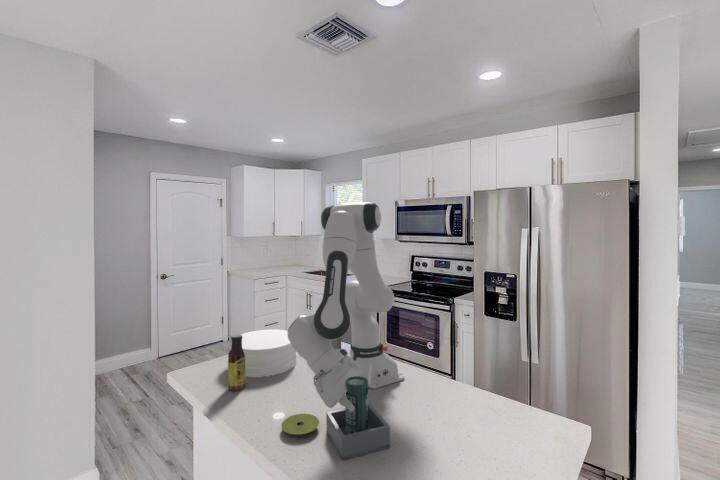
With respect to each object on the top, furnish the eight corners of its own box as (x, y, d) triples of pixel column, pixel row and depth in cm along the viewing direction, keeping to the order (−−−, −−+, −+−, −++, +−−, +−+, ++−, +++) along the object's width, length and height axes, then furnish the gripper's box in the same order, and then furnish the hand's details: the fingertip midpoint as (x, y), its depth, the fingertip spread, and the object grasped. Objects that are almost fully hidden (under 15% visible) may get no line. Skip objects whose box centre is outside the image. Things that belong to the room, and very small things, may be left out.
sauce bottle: (240, 392, 132) (239, 339, 131) (224, 390, 133) (223, 338, 132) (249, 384, 138) (248, 333, 137) (234, 383, 139) (233, 333, 138)
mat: (326, 430, 107) (326, 424, 107) (292, 445, 100) (292, 438, 100) (307, 415, 115) (307, 409, 115) (274, 428, 108) (274, 421, 108)
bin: (369, 421, 112) (369, 403, 111) (389, 447, 99) (389, 426, 98) (326, 431, 106) (326, 412, 106) (342, 460, 93) (341, 438, 93)
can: (371, 432, 102) (371, 381, 102) (356, 441, 98) (356, 387, 97) (357, 423, 107) (357, 374, 106) (341, 431, 102) (341, 380, 102)
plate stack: (309, 364, 158) (308, 338, 158) (250, 383, 139) (249, 355, 138) (276, 348, 179) (276, 325, 178) (221, 363, 159) (220, 338, 159)
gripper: (318, 372, 94) (352, 415, 91) (347, 347, 113) (376, 381, 110) (303, 386, 96) (337, 428, 93) (334, 359, 115) (363, 393, 112)
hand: (358, 402), depth 102 cm, fingers closed on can, 6 cm apart
